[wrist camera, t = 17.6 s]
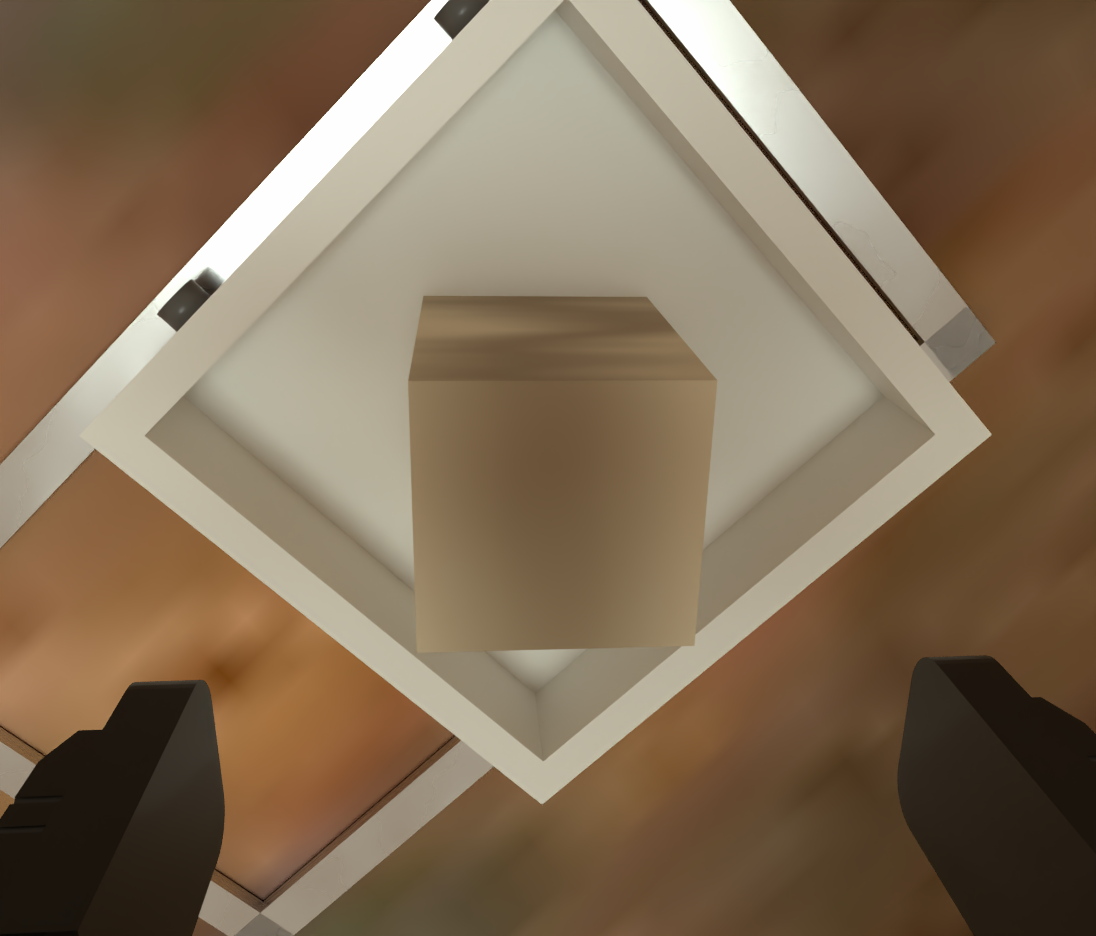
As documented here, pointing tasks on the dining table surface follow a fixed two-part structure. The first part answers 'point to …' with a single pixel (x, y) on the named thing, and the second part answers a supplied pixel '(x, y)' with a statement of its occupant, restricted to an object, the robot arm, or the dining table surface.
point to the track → (55, 445)
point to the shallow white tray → (535, 270)
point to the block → (556, 474)
